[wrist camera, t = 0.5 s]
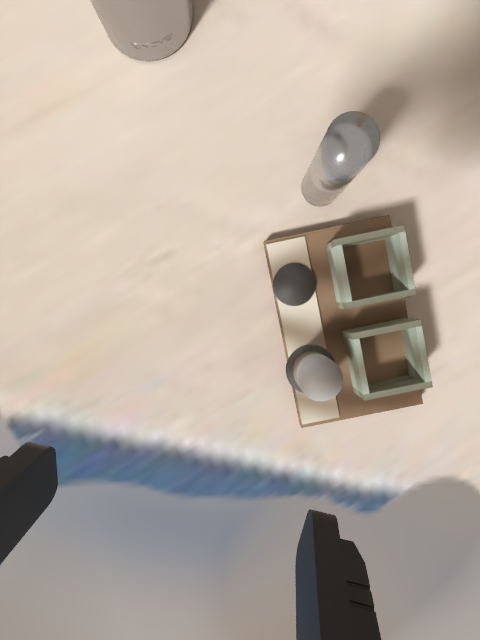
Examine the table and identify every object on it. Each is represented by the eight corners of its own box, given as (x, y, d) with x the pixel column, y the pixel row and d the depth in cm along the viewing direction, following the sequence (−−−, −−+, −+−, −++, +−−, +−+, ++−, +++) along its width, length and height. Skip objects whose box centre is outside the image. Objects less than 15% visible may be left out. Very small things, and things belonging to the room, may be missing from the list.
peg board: (258, 244, 34) (262, 232, 28) (384, 217, 34) (413, 200, 28) (295, 424, 35) (305, 448, 29) (416, 400, 35) (451, 419, 29)
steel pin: (297, 172, 34) (321, 117, 24) (335, 164, 34) (374, 106, 24) (305, 210, 34) (331, 171, 24) (342, 202, 34) (384, 160, 24)
